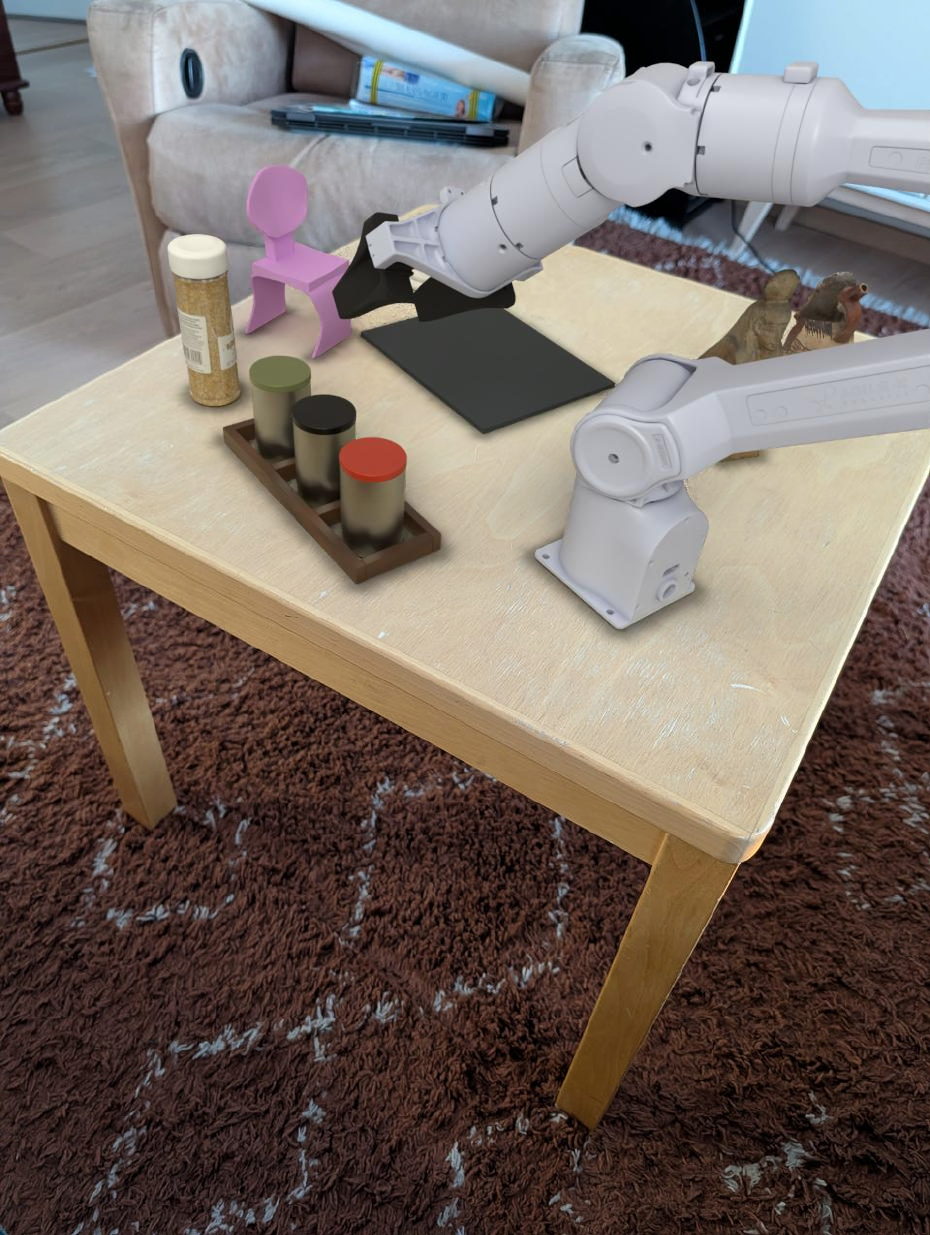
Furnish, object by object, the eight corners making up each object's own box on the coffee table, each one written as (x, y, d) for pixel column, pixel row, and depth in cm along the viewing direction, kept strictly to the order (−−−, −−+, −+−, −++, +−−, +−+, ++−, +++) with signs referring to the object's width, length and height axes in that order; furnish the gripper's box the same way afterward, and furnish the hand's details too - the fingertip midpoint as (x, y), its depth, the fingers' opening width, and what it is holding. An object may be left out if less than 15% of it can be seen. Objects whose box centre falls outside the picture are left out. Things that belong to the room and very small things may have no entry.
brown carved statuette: (750, 477, 83) (849, 314, 69) (696, 482, 82) (785, 316, 67) (701, 387, 90) (782, 218, 75) (650, 390, 88) (722, 219, 73)
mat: (614, 387, 88) (615, 382, 88) (483, 434, 81) (483, 429, 80) (487, 302, 99) (487, 297, 99) (360, 336, 91) (360, 331, 91)
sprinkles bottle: (250, 400, 81) (235, 250, 72) (200, 413, 79) (179, 260, 70) (229, 376, 84) (212, 228, 75) (180, 388, 82) (157, 236, 73)
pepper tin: (368, 499, 73) (368, 417, 67) (315, 518, 70) (312, 435, 65) (336, 469, 75) (335, 387, 70) (285, 487, 73) (279, 404, 68)
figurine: (812, 371, 94) (856, 254, 85) (853, 408, 89) (904, 288, 81) (751, 377, 92) (791, 258, 83) (790, 415, 87) (836, 293, 79)
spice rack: (440, 549, 69) (441, 534, 68) (356, 584, 65) (356, 568, 64) (302, 418, 80) (301, 403, 79) (223, 442, 77) (222, 427, 75)
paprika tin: (415, 545, 69) (420, 462, 64) (362, 567, 67) (362, 483, 62) (381, 512, 72) (382, 429, 66) (328, 532, 69) (326, 448, 64)
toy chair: (312, 365, 86) (306, 201, 76) (237, 337, 89) (221, 175, 79) (361, 331, 92) (362, 174, 81) (290, 306, 95) (281, 150, 84)
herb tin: (324, 457, 76) (322, 376, 71) (273, 474, 74) (267, 392, 69) (296, 430, 79) (292, 349, 73) (246, 445, 76) (238, 364, 71)
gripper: (574, 167, 61) (435, 259, 70) (421, 128, 50) (282, 243, 60) (602, 270, 61) (460, 348, 70) (456, 253, 51) (312, 348, 60)
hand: (380, 307), depth 65 cm, fingers open, 7 cm apart
